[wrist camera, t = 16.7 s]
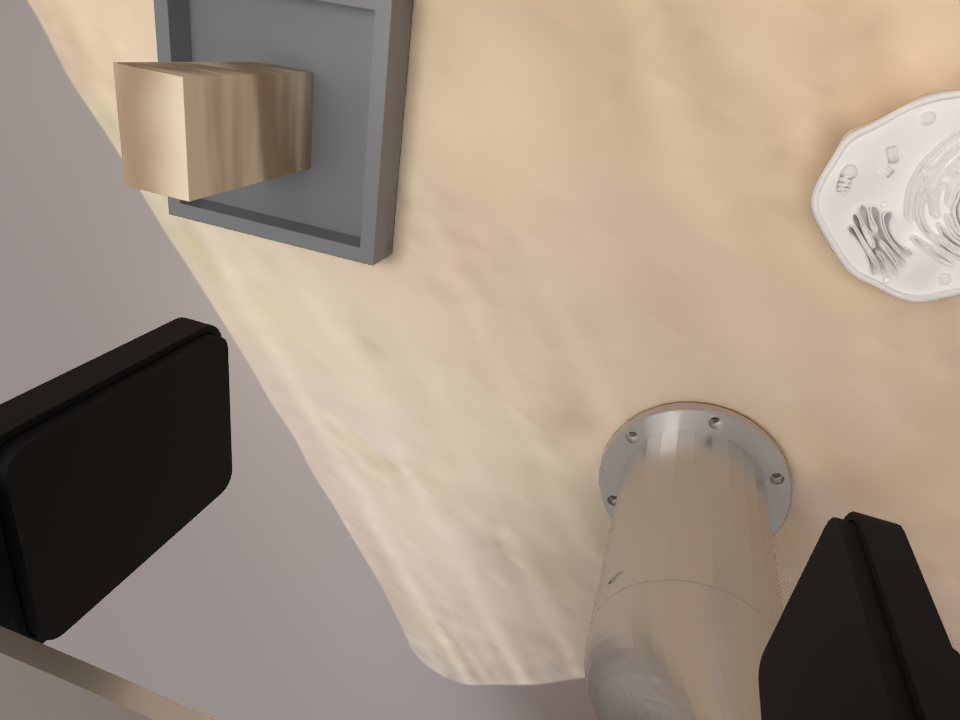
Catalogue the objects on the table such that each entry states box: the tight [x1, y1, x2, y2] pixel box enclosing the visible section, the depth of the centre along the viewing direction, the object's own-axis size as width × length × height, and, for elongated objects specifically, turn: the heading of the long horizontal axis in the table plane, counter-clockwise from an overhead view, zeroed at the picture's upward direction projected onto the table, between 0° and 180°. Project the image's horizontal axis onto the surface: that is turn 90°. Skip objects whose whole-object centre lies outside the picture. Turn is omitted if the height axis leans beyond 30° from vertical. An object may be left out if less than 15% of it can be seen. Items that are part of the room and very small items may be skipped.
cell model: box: [811, 90, 960, 303], centre depth 32 cm, size 10×12×7 cm
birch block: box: [113, 62, 314, 202], centre depth 38 cm, size 4×6×12 cm, turn 171°
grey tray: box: [154, 0, 413, 265], centre depth 43 cm, size 16×16×3 cm
